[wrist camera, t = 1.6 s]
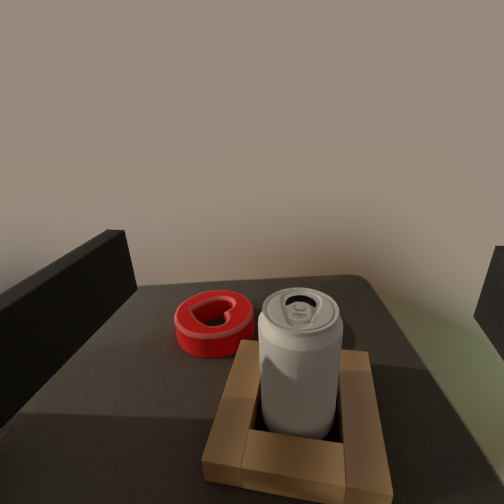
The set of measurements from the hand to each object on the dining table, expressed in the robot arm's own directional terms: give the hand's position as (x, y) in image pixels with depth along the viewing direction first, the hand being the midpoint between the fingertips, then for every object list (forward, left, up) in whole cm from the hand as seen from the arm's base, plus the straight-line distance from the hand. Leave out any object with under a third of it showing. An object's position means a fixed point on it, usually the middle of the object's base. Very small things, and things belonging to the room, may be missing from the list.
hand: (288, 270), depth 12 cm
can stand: (+4, -8, -20) cm, 22 cm away
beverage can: (+4, -8, -20) cm, 22 cm away
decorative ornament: (+19, -13, -20) cm, 31 cm away
